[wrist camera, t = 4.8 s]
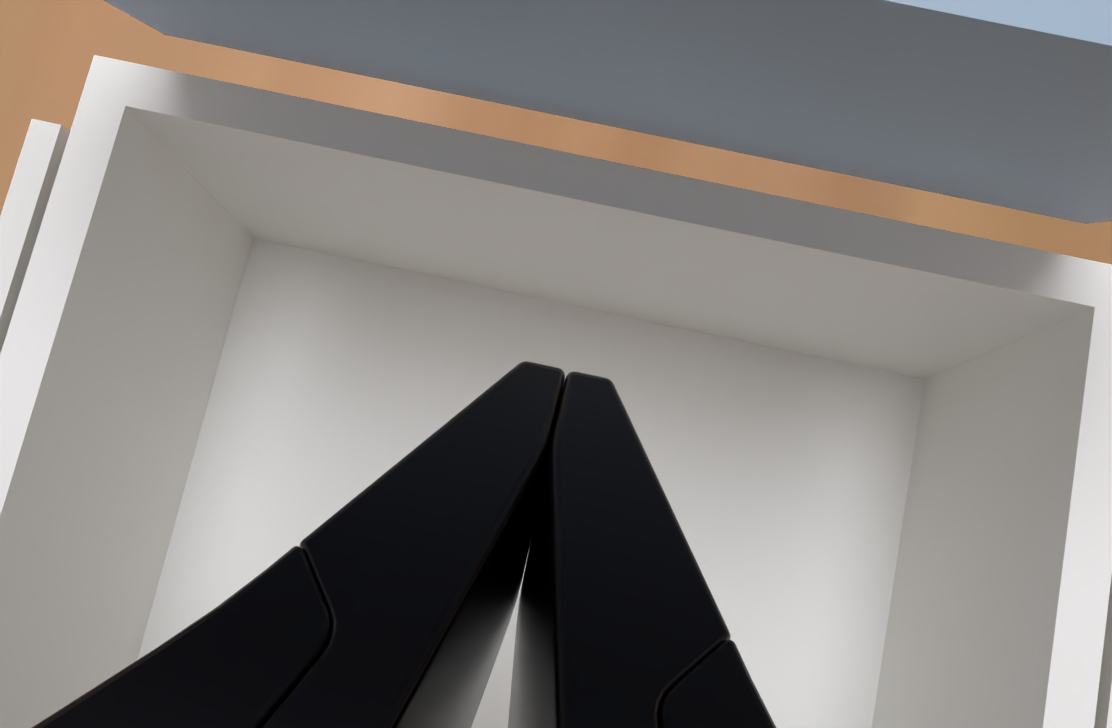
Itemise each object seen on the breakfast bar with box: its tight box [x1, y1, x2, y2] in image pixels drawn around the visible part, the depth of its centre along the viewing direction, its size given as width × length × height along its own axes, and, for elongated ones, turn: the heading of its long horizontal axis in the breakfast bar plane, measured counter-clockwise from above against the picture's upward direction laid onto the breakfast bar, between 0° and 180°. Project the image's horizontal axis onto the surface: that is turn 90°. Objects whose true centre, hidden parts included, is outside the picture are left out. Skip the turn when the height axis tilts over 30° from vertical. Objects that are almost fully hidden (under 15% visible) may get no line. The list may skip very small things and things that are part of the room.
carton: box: [0, 55, 1112, 728], centre depth 15 cm, size 13×15×6 cm
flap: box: [104, 0, 1112, 224], centre depth 9 cm, size 1×12×7 cm, turn 79°
